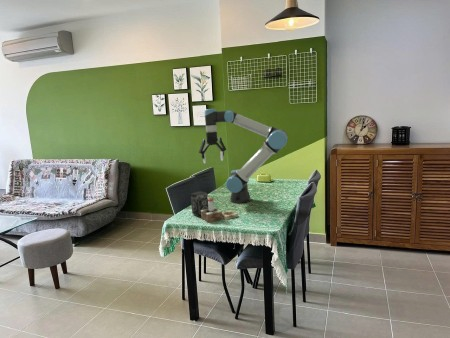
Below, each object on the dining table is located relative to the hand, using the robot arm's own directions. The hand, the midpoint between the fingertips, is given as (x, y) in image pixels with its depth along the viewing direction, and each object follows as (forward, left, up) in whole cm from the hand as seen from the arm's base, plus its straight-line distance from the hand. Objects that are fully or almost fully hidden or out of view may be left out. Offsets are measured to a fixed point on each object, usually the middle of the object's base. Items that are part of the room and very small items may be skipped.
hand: (213, 161), depth 237 cm
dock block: (+16, +25, -32) cm, 43 cm away
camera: (+18, +13, -32) cm, 39 cm away
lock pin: (+16, +25, -32) cm, 43 cm away
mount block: (+5, +27, -32) cm, 42 cm away
